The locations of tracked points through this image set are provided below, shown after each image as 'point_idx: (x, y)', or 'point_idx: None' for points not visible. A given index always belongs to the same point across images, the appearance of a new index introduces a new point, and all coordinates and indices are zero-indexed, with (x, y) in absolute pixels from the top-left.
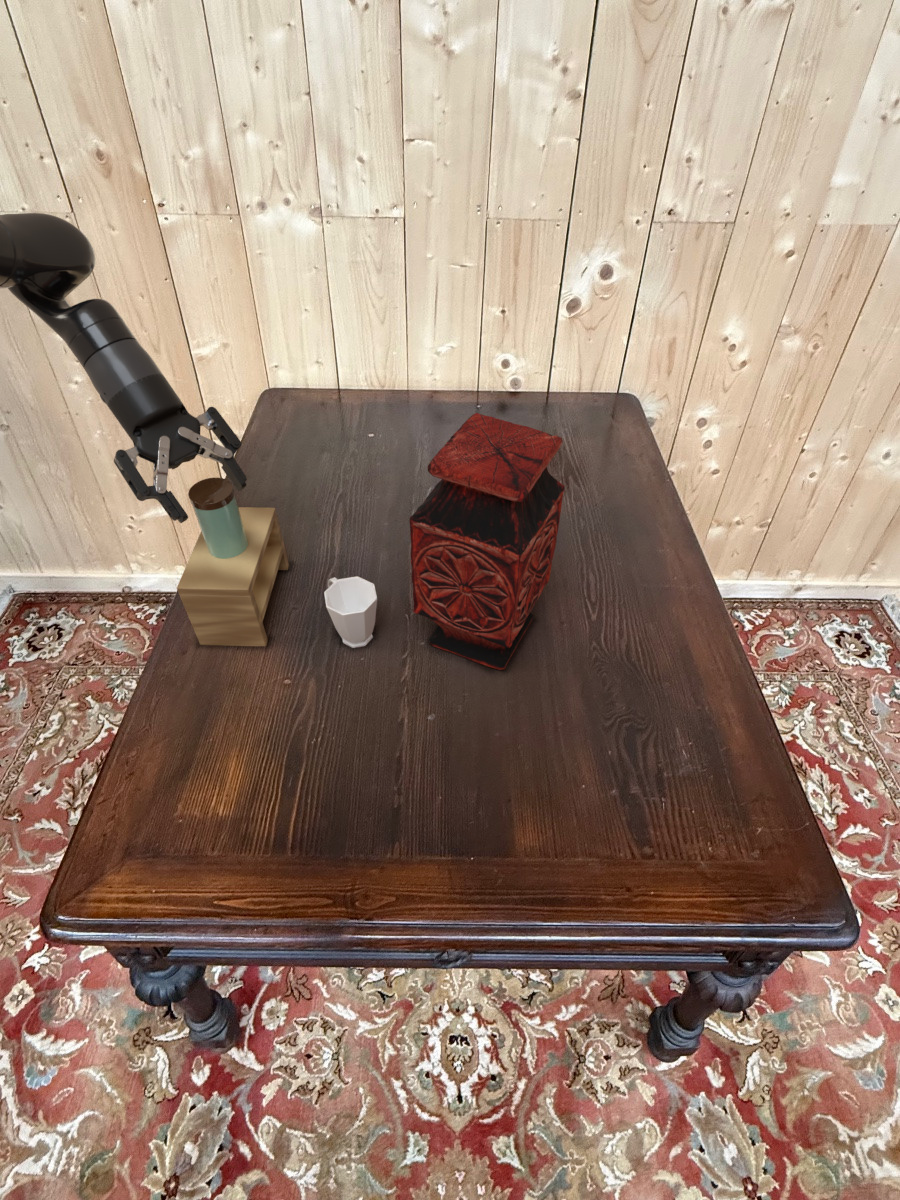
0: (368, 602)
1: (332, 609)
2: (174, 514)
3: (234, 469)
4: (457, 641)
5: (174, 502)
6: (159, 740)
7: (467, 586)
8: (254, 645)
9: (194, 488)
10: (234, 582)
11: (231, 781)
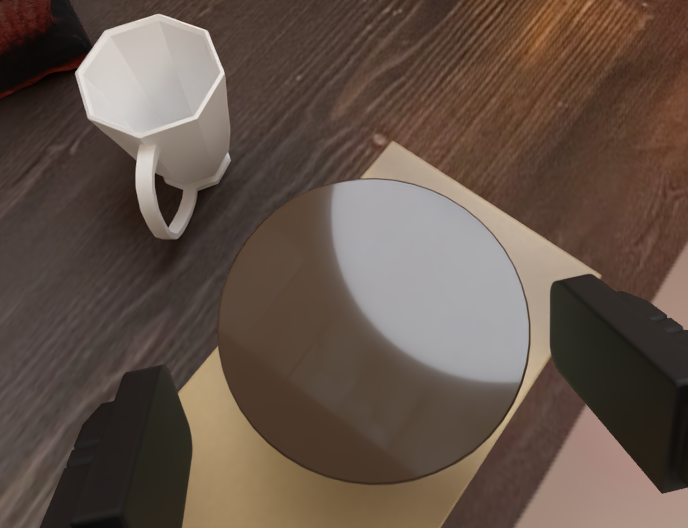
0: (121, 121)
1: (216, 57)
2: (636, 303)
3: (112, 447)
4: (51, 4)
5: (641, 325)
6: (653, 153)
7: None
8: None
9: (465, 409)
10: None
11: (550, 19)
